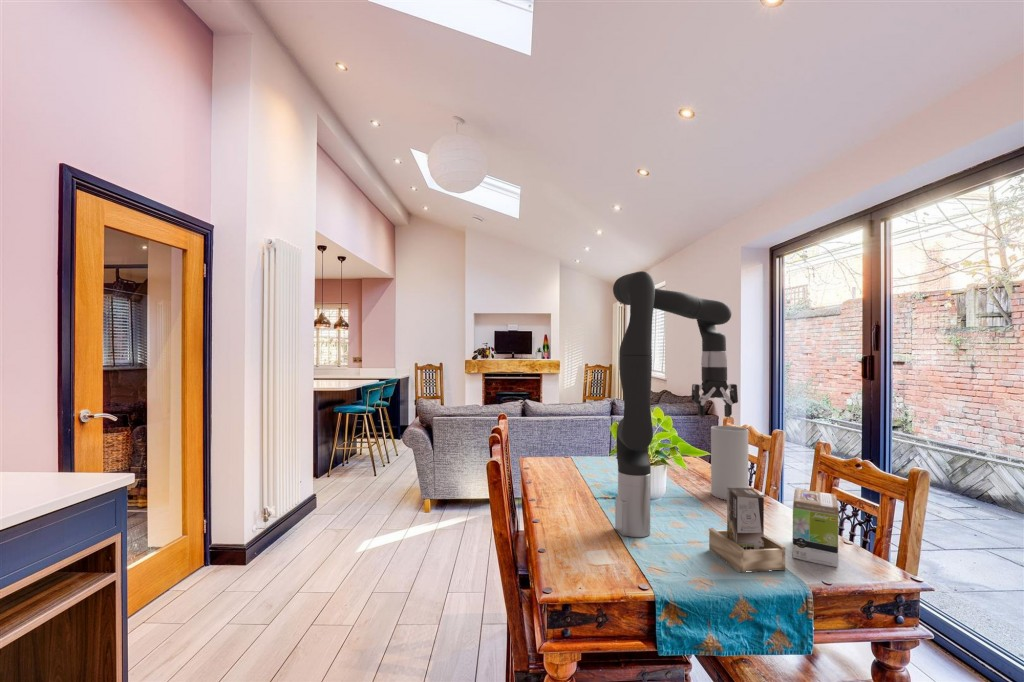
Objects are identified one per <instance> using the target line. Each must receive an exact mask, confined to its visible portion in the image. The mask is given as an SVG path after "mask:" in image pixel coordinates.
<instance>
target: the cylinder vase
mask: <svg viewBox="0 0 1024 682" xmlns="http://www.w3.org/2000/svg"><path fill="white" fill-rule="evenodd" d="M727 488H749V429H748V428H747V427H740V426H732V425H731V426H730V425H712V426H710V494H711V495H712V496H713V497H714V496H715V497H714V498H716V499H719V498H720V500H723V499H724V501H727Z"/></svg>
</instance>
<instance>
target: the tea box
mask: <svg viewBox="0 0 1024 682" xmlns="http://www.w3.org/2000/svg"><path fill="white" fill-rule="evenodd" d="M793 494H794V496H793V504H792V540H791V541H792V558H793V559H796V560H800V561H803V562H804V561H806V562H808V563H809V562H810V563H815V564H820V565H823V566H829V567H833V568H837V567H838V566H839V523H840V522H839V518H840V517H839V516H840V515H839V514H840V513H839V512H840V511H839V505H838V504H839V503H838V500H837V499H838V497H837V494H835V493H834V494H833V493H827V492H819V491H814V490H806V489H800V488H795V489H794V493H793Z"/></svg>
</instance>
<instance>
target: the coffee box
mask: <svg viewBox="0 0 1024 682" xmlns="http://www.w3.org/2000/svg"><path fill="white" fill-rule="evenodd" d="M764 501H765V497H764V496H763V495H761V494H759V493H758V492H757V491H755V490H754V489H753V488H749V487H748V488H727V500H726V521H727V522H726V524H727V525H726V526H727V527H726V528H727V529H726V530H727V538H728V539H730V540H731V541H733V542H734V543H736V544H737V545H739V546H740V547H742V548H743V549H744V550H750V549H764V535H765V533H764V529H765V528H764V521H765V520H764V519H765V518H764V517H765V514H764V513H765V511H764V510H765V507H764V505H765V502H764Z"/></svg>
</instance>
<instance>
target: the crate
mask: <svg viewBox="0 0 1024 682" xmlns="http://www.w3.org/2000/svg"><path fill="white" fill-rule="evenodd" d="M708 532H709V533H708V535H709V537H708V538H709V539H708V542H709V543H708V544H709V545H708V546H709V548H708V550H710V552H712V553H713V554H714V553H715V556H717V557H718V556H719V558H720V560H722V559H723V562H725V563H726V562H727V563H726V564H727V565H729V564H730V565H731V566H730V565H729V566H730V567H732V568H733V567H734V568H735V569H734V568H733V569H734V570H736V571H737V570H738V571H739V573H740V572H745V573H747V572H746V571H767V572H770V571H769V570H785V571H786V548H787V547H786V546H785V545H783V544H781V543H779V542H777V541H775V540H774V539H772V538H771V537H769V536H767V535H765V534H764V549H750V550H744V549H743V548H742V547H740V546H739V545H737V544H736V543H734V542H733V541H731V540H730V539H728V538H727V529H714V528H713V527H709V528H708ZM738 571H737V572H738Z"/></svg>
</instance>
